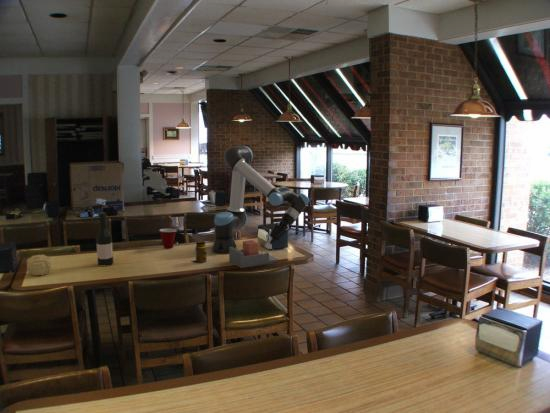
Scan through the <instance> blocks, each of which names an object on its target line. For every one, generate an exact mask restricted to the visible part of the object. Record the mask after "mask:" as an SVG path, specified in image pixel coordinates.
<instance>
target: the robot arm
mask: <svg viewBox="0 0 550 413" xmlns="http://www.w3.org/2000/svg"><path fill="white" fill-rule="evenodd" d="M253 158H254V154H253V151H252V149H251V148H250V147H249V146H246V145H238V146H230V147H229V148H227V149H226V150H225V151H224V154H223V160H224V162H225V164H226V165H227V166H228V167H229V168H230V169H231V170H232V172H231V174H232V175H231V185H230V186H231V187H230V197H229V198H230V199H229V206H227V208H226V211H223V212H219V213H217V214H215V215H214V220H213V223H214V240H213V244H212V247H211V248H212V249H211V250H212V253H216V254H221V255H222V254H223V255H224V254H229V247H234V248H235V249H237V248H238V247H237V244H236V241H235V239H234V238H235V237H234V232H235V231H238V230H239V229H242V228H243V227H245V226H246V225H247V221H248V215H247V213H246V209H245V208H244V203H245V202H244V201H245V200H244V199H245V190H246V189H245V186H246V181H247V182H249V183H250V184H251V185H252V186H253V187H255V188H256V189H257V190H258V191H259V192H260V193H261V194H262V195H264V196H265V197H266V198H267V199H268V202H269V205H272V206H273V207H274V206H275V207H276V206H279V205H281V204H284V203H286V204H289V205H290V206H289V207H288V209H286V211H285V212H284V214H283V215H282V216H281V220H280V221H279V222H276V223H275V225H274V227H273V228H272V230H271V232H270V234H269V236H270V238H268V240H267V242H266V243H265V244H264V245H263V246H264V248H266V249H268V250H269V249H270V248H271V246H272V245H273V244H274V243H275V241H279V240H280V239H281V238H283V236H284V235H285V234H286V233H287V232H289V231H290V226H292V225H293V224H294V223H295V221H296V220H297V219H298V218H299V216H300V215H301V214H302V212H303V211H304V210H305V209H306V207H307V206H308V205H309V203H310V198H309V197H308V196H307V194H304V193H299V194H297V193H296V192H294V191H293V190H291V189H290V188H289V187H287V186H285V185H281V186H279V188H278V189H277V187H275V185H273V184H272V183H271V182H269V181H268V180H267V179H266V178H265V177H264V176H262V175H261V174H260V173H259V172H258V171H256V170H255V168H253V167H252V166H251V165H250V163H251V162H252V160H253ZM237 250H238V249H237Z"/></svg>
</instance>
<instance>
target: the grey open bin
mask: <svg viewBox="0 0 550 413" xmlns="http://www.w3.org/2000/svg"><path fill="white" fill-rule="evenodd" d="M228 260H229V261H228V262H229V263H231V262H232V263H231V264H233V263H234V264H233V265H235V264H236V265H238V266H239V267H240V269H246V268H251V267H257V266H261V265H268V264H272V263H278V262H279V259H278V258H276V257H274V256H273V255H270V253H269V252H260V253H259V254H255V255H249V256H244V253H243V248H242V249H235V248H234V247H229V253H228ZM236 265H235V266H236ZM238 266H237V267H238ZM239 267H238V268H239Z"/></svg>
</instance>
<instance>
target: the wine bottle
mask: <svg viewBox="0 0 550 413" xmlns="http://www.w3.org/2000/svg"><path fill="white" fill-rule="evenodd" d="M106 217H107V214H106V212H105V211H104V212H103V211H102V212H99V213H98V218H99V230H98V232H97V234H96V236H95V241H96V256H97V265H98V266H99V265H109V266H112V265H113V264H114V253H113V238H112V233H111V232H110V231H109V229H108V228H107V218H106Z"/></svg>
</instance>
